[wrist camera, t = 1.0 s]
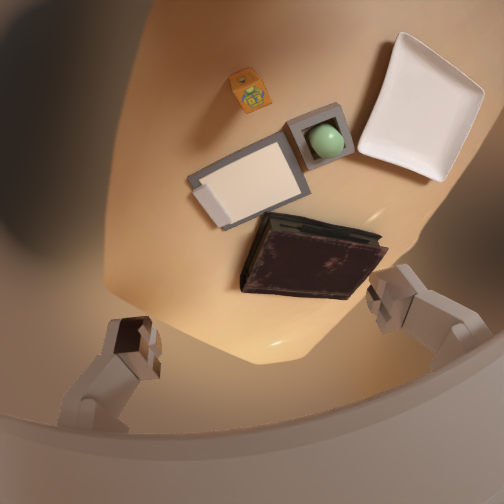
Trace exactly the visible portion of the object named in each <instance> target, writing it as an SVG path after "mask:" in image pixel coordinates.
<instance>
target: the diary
mask: <svg viewBox="0 0 504 504" xmlns="http://www.w3.org/2000/svg"><path fill="white" fill-rule="evenodd" d="M380 238H382V236H380V235H378V234H375V233H371V232H367V231H363V230H359V229H355V228H349V227H344V226H338V225H332V224H328V223H325V222H321V221H317V220H313V219H309V218H305V217H301V216H295V215H288V214H282V213H275V212H269V211H266V212H265V215H264V217H263V220H262V222H261V225H260V227H259V230H258V232H257V235H256V237H255V240H254V242H253V245H252V247H251V250H250V252H249V255H248V257H247V260H246V262H245V265H244V267H243V270H242V272H241V274H240V289H241V292H243V293H257V294H274V295H283V296H293V297H305V298H328V299H338V300H348V298H349V297H350V296H351V295H352V294H353V293H354V292H355V290H356V289H357V288H358V287H359V286H360V285H361V284H362V283H363V282H364V281H365V280H366V279H367V277H368V276H369V275H370V274H371V273H372V271H373V270H374V269H375V268H376V266H377V265H378V264H379V262H380V261H381V260H382V258H383V257H384V255H385V254H386V253H387V251H388V248H387V247H381V246H380V245H379V243H378V240H379V239H380Z"/></svg>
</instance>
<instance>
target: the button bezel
mask: <svg viewBox="0 0 504 504" xmlns="http://www.w3.org/2000/svg"><path fill="white" fill-rule="evenodd" d="M330 118H333V120H334V122H335V125H336V128H337V131H338V132H339V133H340V134H341V135H342V137H343V139H344V148H343V150H342V152H341V153H340V154H339V155H338V156H336V157H334V158H331V159H325V158H322V157H320V156H319V155H318V154H317V153H314V154H312V155H311V152H310V150H309V148H308V145H307V143H306V140H305V138H304V136H303V133H302V131H301V130H303V129H305V128H308V127H310V126H313V125H315V124H318V123H320V122H323V121H325V120H328V119H330ZM287 124H288V127H289V129H290V131H291V133H292V135H293V137H294V140H295V142H296V144H297V146H298V148H299V151H300V153H301V155H302V158H303V160H304V162H305V164H306V166H307V168H308V170H309V171H310V170H312V169H314V168H317V167H319V166H322V165H324V164H327V163H329V162H331V161H334V160H336V159H339V158H341V157H344V156H346V155H349V154H351V153H354V152H356V151H355V147H354V144H353V141H352V137H351V134H350V131H349V128H348V125H347V122H346V119H345V116H344V113H343V110H342V107H341V105H339V104H338V103H336V102H335V103H332V104H329V105H327V106H324V107H321V108H319V109H316V110H314V111H311V112H309V113H306V114H304V115H301V116H299V117H296V118H294V119H291V120H289V121H287Z"/></svg>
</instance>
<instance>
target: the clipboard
mask: <svg viewBox="0 0 504 504" xmlns="http://www.w3.org/2000/svg"><path fill="white" fill-rule="evenodd" d="M187 180H188V181H189V182H190V184H191V185H192V186H193V188H194V190H193V195H194V196H195V197H196V199H197V200H198V201H199V203H200V204H201V205H202V206H203V208H204V209H205V210H206V212H207V213H208V214H209V216H210V217H211V218H212V220H213V221H214V222H215V224H216V225H217V226H218V228H220V227H223V228H224V229H225V231H227V230H229V229H231V228H233V227H236V226H238V225H240V224H242V223H245V222H247V221H249V220H251V219H254V218H256V217H258V216H260V215H263V214H265V212H266V211H269V212H270V211H272V210H274V209H276V208H279V207H281V206H283V205H286V204H288V203H290V202H293V201H295V200H297V199H300V198H302V197H305V196H307V195H309V194H311V191H310V189H309V187H308V184H307V182H306V180H305V177H304V175H303V173H302V171H301V168H300V166H299V164H298V162H297V159H296V157H295V155H294V153H293V151H292V149H291V146H290V144H289V142H288V140H287V138H286V136H285V134H284V132H283V130H282V131H279V132H277V133H275V134H273V135H270V136H268V137H266V138H264V139H262V140H259V141H257V142H255V143H253V144H251V145H249V146H247V147H245V148H243V149H240V150H238V151H236V152H234V153H232V154H230V155H228V156H226V157H224V158H222V159H220V160H218V161H216V162H215V163H213V164H211V165H209V166H207V167H205V168H203V169H201V170H199V171H197V172H196V173H194V174H192V175H190V176H188V178H187Z"/></svg>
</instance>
